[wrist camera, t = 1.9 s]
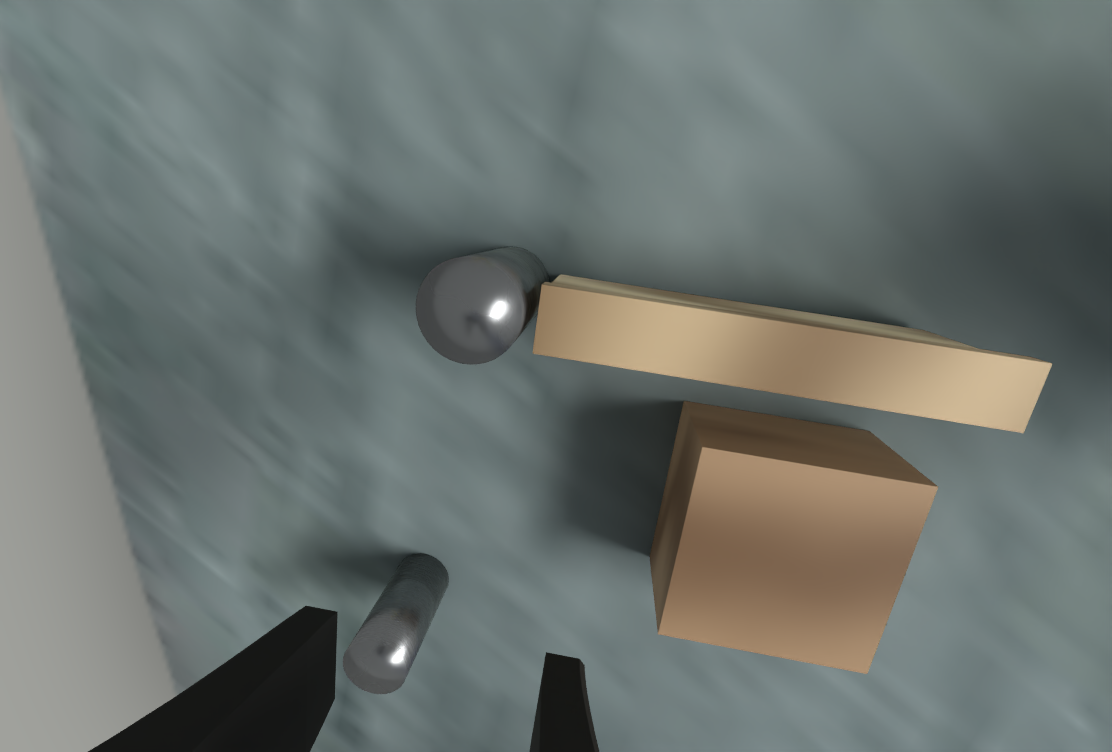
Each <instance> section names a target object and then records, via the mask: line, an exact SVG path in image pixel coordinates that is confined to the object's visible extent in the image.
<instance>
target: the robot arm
mask: <svg viewBox="0 0 1112 752" xmlns="http://www.w3.org/2000/svg"><path fill="white" fill-rule="evenodd" d="M336 641H337V612H336V611H330V610H325V609H320V608H315V607H310V606H305V607H303V608H302V609H300V610H299V611H298V612H296V613H295V614H293V615H292V616H290V617H289V618H287V619H286V620H285V621H283V622H282V623H280V624H279V625H278V626H276V627H275V628H273V629H272V630H271V631H269V632H268V633H266V634H265V635H264V636H262V637H261V638H259V639H258V640H257V641H255V642H254V643H252V644H251V645H250V646H248V647H247V648H245V649H244V650H243V651H241V652H240V653H238V654H237V655H236V656H234V657H233V658H231V659H230V660H228V661H227V662H226V663H224V664H223V665H221V666H220V667H218V668H217V669H215V670H214V671H212V672H211V673H210V674H208V675H207V676H205V677H204V678H202V679H201V680H199V681H198V682H196V683H195V684H194V685H192V686H191V687H189V688H188V689H186V690H185V691H183V692H182V693H180V694H179V695H177V696H176V697H174V698H173V699H171V700H170V701H168V702H167V703H165V704H163V705H162V706H160V707H159V708H157V709H156V710H154V711H152V712H151V713H149V714H148V715H146V716H145V717H143V718H141V719H140V720H138V721H137V722H135V723H134V724H132V725H131V726H129V727H128V728H126V729H124V730H123V731H121V732H120V733H118V734H116V735H115V736H113V737H111V738H110V739H108V740H107V741H105V742H103V743H102V744H100V745H98V746H97V747H95V748H93V749H92V750H90V751H88V752H310V750H311V748H312V746H313V744H314V742H315V740H316V738H317V736H318V734H319V732H320V730H321V727H322V725H323V723H324V721H325V719H326V717H327V714H328V712H329V710H330V708H331V706H332V704H333V701H334V699H335V673H336ZM530 752H599V748H598V744H597V740H596V736H595V731H594V726H593V722H592V717H591V712H590V707H589V701H588V695H587V688H586V680H585V667H584V664H583V663H582V662H581V660H580V659H577V658H572V657H567V656H562V655H557V654H552V653H547V652H546V656H545V662H544V668H543V674H542V680H541V686H540V692H539V698H538V704H537V710H536V716H535V722H534V728H533V734H532V740H531V746H530Z"/></svg>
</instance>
